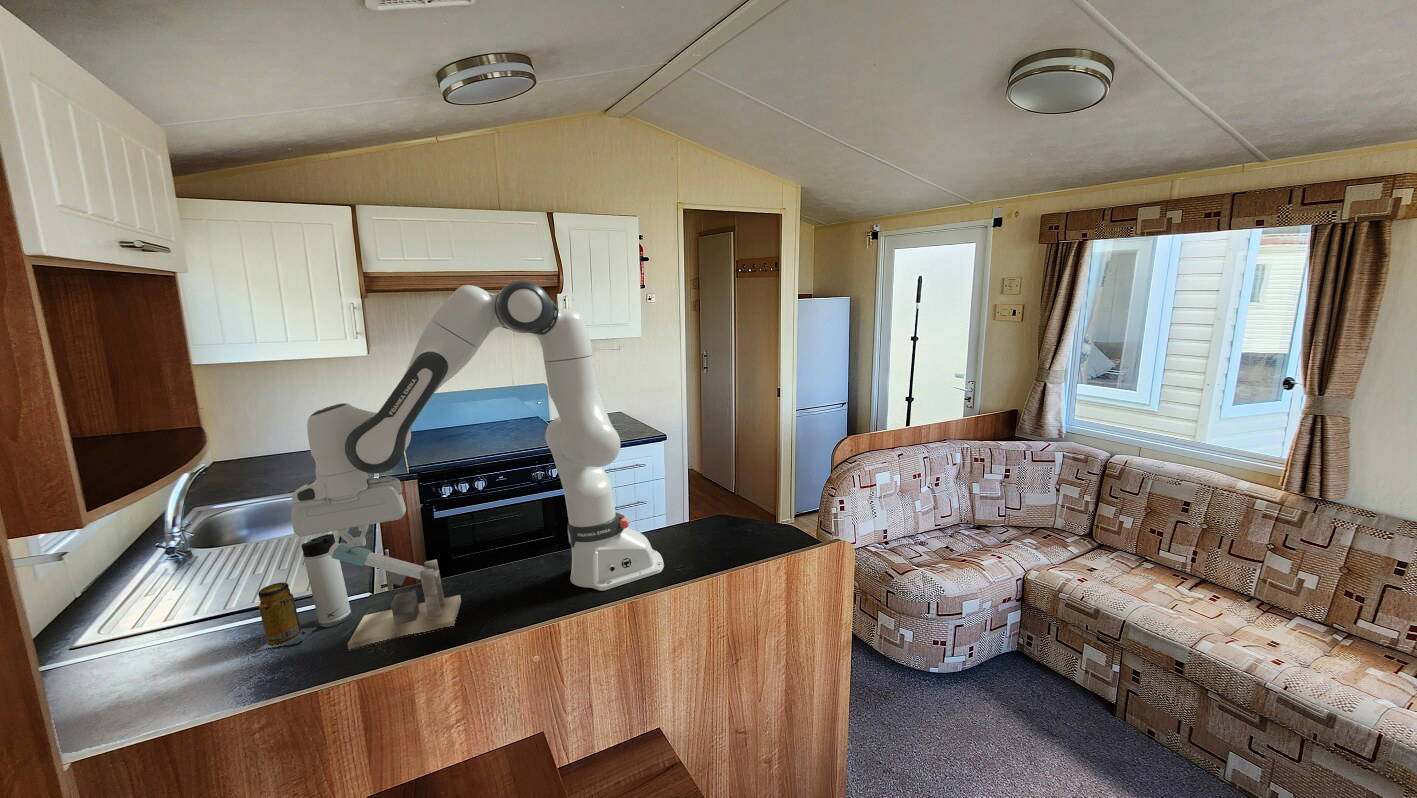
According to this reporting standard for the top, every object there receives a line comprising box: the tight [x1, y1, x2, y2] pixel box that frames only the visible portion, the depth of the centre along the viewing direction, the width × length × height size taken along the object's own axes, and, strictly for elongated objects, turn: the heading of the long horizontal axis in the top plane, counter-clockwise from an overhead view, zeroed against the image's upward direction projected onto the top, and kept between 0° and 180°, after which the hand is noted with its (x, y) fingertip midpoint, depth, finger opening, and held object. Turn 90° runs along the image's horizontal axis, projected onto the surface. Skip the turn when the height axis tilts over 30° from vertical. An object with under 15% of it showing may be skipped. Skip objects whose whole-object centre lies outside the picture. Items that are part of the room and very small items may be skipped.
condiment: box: [257, 581, 302, 651], centre depth 126 cm, size 7×8×12 cm
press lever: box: [328, 541, 440, 587], centre depth 125 cm, size 22×4×4 cm, turn 106°
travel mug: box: [301, 533, 352, 625], centre depth 131 cm, size 6×7×20 cm
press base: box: [347, 559, 462, 650], centre depth 126 cm, size 20×12×12 cm, turn 106°
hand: (357, 546), depth 123 cm, fingers closed
